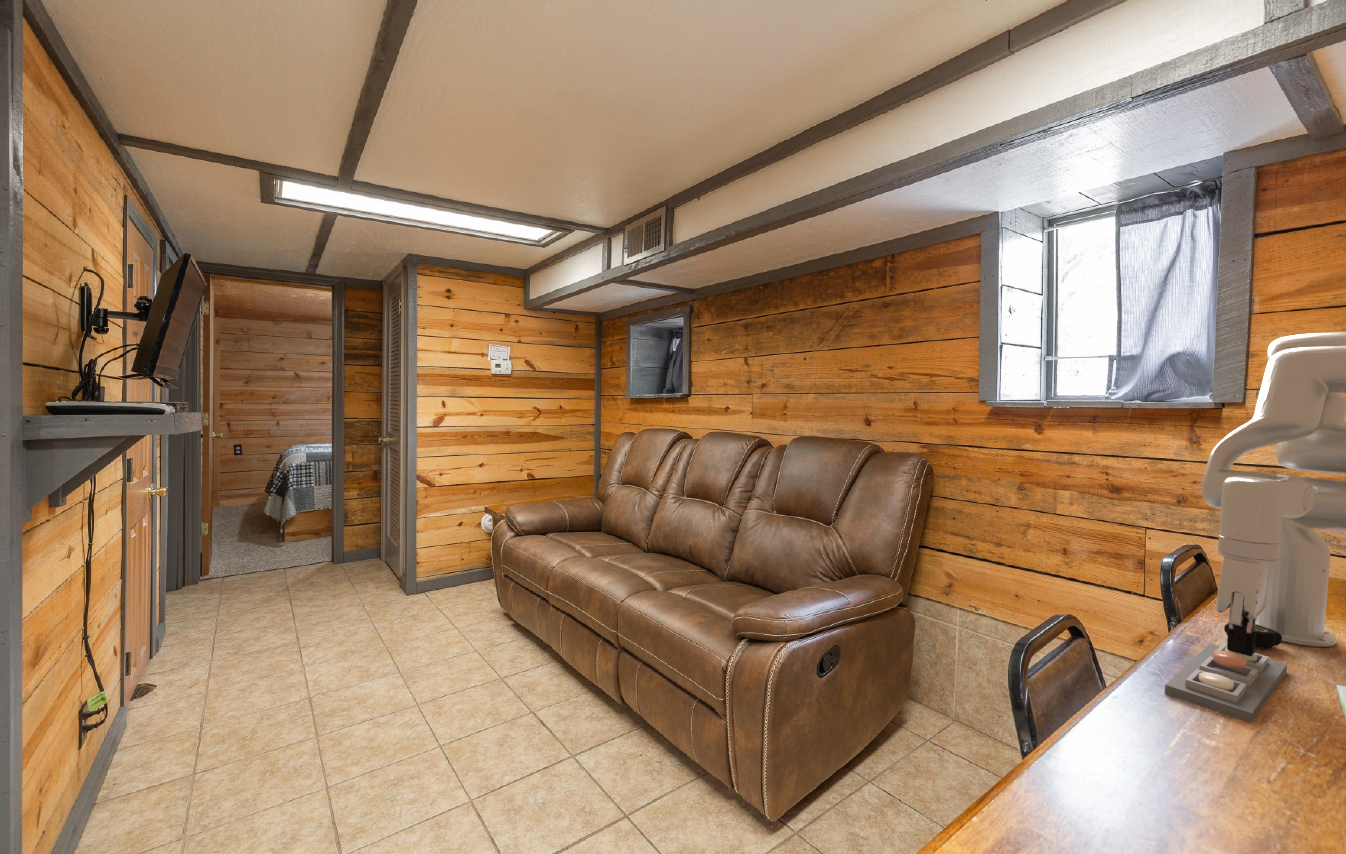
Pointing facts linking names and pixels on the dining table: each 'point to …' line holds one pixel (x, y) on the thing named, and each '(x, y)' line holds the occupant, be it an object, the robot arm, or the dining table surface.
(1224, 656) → the button terracotta
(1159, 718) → the dining table surface
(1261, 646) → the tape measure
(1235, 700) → the button board
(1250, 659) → the button sage
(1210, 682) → the cream button
